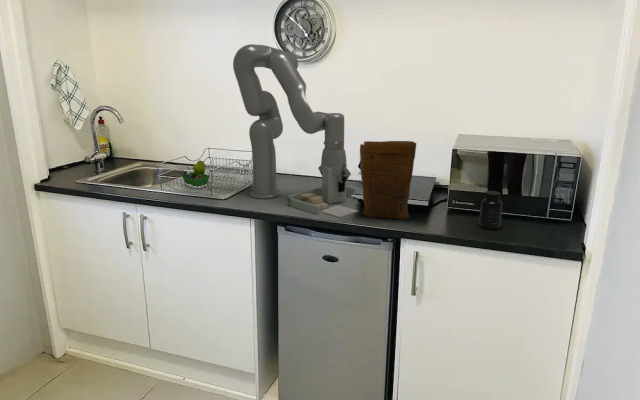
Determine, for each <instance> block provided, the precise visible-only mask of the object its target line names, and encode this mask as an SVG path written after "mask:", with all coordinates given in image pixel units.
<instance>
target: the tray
mask: <svg viewBox="0 0 640 400" xmlns="http://www.w3.org/2000/svg"><path fill="white" fill-rule="evenodd" d="M361 189H362V188H358V187H354V186H351V185H346V197H349V198H352V197H351V195H352V193H353V192H354V190H361ZM306 193H313V194H315V195H318V196H321V197H322V186H319V187H315V188H312V189H308V190H305V191H301V192H297V193H293V194H288V195H287V205H288V207H292V208H294V209H298V210H302V211H305V212H307V213H311V214H314V215H320V214H321V212H320V206H317V205H313V204H310V203H307V202H303V201H300V195H302V194H306Z"/></svg>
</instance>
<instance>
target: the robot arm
mask: <svg viewBox="0 0 640 400" xmlns="http://www.w3.org/2000/svg"><path fill="white" fill-rule="evenodd" d="M232 62H233V63H232V68H233V73H234V76H235V79H236V80H237V81H236V82H237V85H238V89H239V92H240V95H241V98H242V102H243V106H244V109H245V112H246V113H247V114H248V115H250V116H251V117H258V119H257V120H255V121H254V122H252V124H251V125H250V126H249V132H248V135H249V141H250V146H251V157H252V159H251V160H252V175H253V176H252V179H253V182H251V183H250V184H249V187H250V188H252V191H250V193H249V194H250V197H251V198H255V199H261V200H262V199H264V200H265V199H274V198H277V197H279V196H280V195H281V190H279V189H278V188H277V184H278V183H277V157H276V155H277V154H276V147H275V143H274V140H276V139H278V138H279V137H281V135H282V134H283V130H284V125H283V121H282V117H281V114H280V110H279V107H278V104H277V100H276V99H275V96H274V95H273V94H272V92H269V91H267V90H263V89H262V85H261V82H260V78H259V76H258V74H257V73H256V71H255V68H265V69H268V70H270V71H272V73H273V74H274V77H275V78H276V80H277V81H278V83H279V85H280V86H281V88H282V90H283V92H284V93H285V95H286V97H287V102H288V105H289V109H290V111H291V114H292V117H293V118H294V119H295V121H296V122H297V125H298V126H299V127H300V129H301V130H302V131H303V132H304V133H306V134H308V135H313V134H316V133H318V132H322V131H324V141H323V144H324V148H323V149H322V152H321V160H320V165H319V166H318V168H317V169H318V171H319V172H320V175H321V176H322V165H323V166H328V167H332V168H333V175H334V176H338V179H339V181H340V182H339V183H338V192H344V191H345V182H346V183H347V181H348V179H349V178H350V177H351V175H352V172H351V171H350V170H349V169H348V167H347V166H348V165H347V154H346V150H345V115H344V114H343V113H341V112H329V113H328V112H325V111H324V112H323V111H313V109H311V106H310V104H309V103H308V101H307V95H306V94H307V93H306V91H307V84H306V82H305V80H304V79H303V77H302V76H301V74H300V72H299V71H298V67H299V61H298V58H297V57H296V55H295V53H292V52H289V51H286V50H282V49H278V48H275V47H273V46H272V47H271V46H269V45H265V44H264V45H263V44H254V43H253V44H245V45H244V46H242V47H240V48H239V49H237V51H236V52H235V55H234V57H233V61H232ZM342 170H343V171H344V172H345V173H344V172H343V171H342ZM345 174H346V175H345ZM341 176H342V178H341Z"/></svg>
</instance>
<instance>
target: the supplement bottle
mask: <svg viewBox="0 0 640 400" xmlns="http://www.w3.org/2000/svg"><path fill="white" fill-rule="evenodd" d="M503 204H504V203H503V202H502V201H501V192H499V191H496V190H487V191H485V193H484V199H482V200H481V202H480V210H479V211H480V212H479V220H478V221H479V223H478V225H479V227H481V228H483V229H486V230H497V229H499V228H500V227H501V222H502V221H501V220H502V213H503Z"/></svg>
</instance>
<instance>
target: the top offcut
mask: <svg viewBox="0 0 640 400" xmlns="http://www.w3.org/2000/svg"><path fill="white" fill-rule="evenodd" d="M300 201H303V202H307V203H310V204H313V205H319V204H323V203H324V201H323V197H321V196H318V195H315V194H313V193H306V194H302V195H300Z"/></svg>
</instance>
